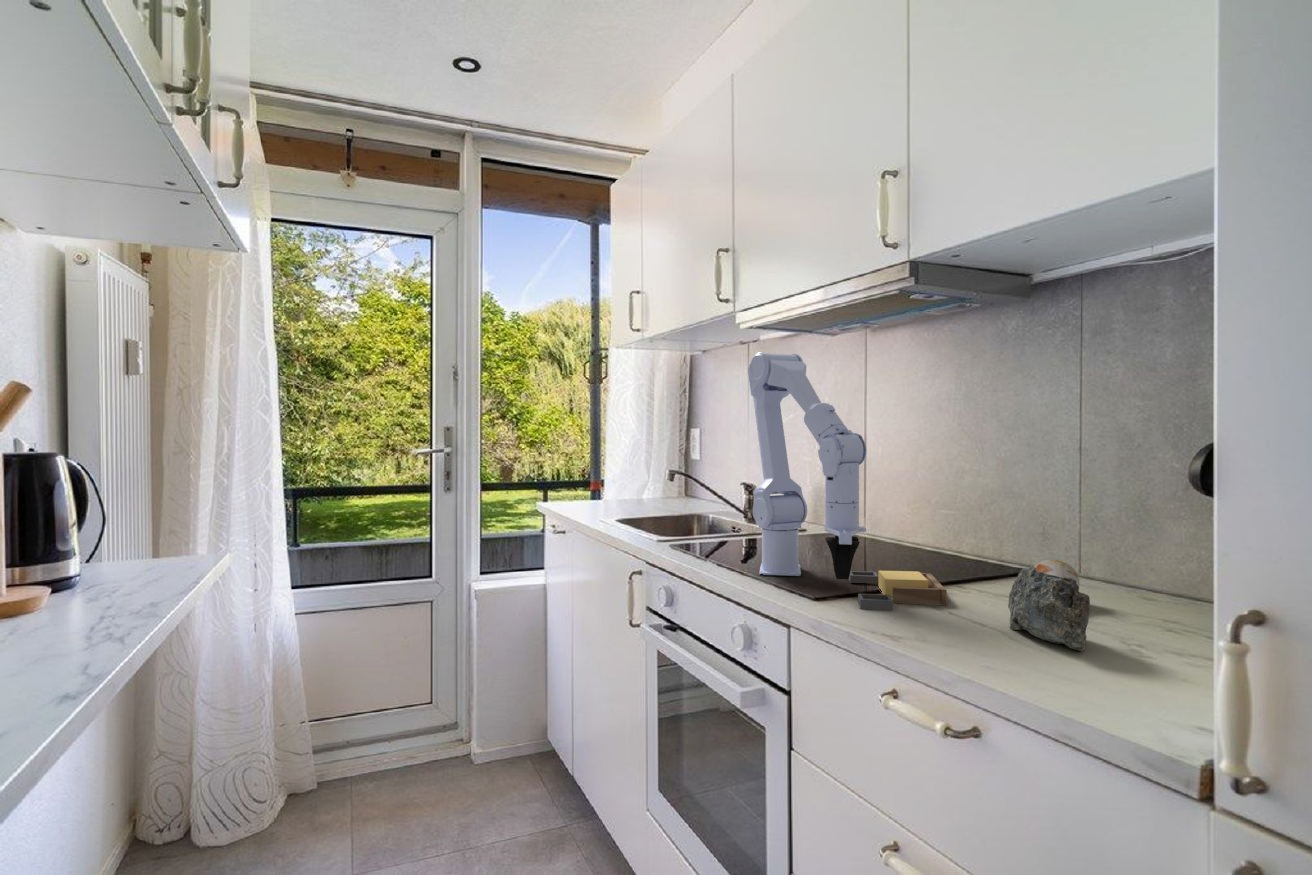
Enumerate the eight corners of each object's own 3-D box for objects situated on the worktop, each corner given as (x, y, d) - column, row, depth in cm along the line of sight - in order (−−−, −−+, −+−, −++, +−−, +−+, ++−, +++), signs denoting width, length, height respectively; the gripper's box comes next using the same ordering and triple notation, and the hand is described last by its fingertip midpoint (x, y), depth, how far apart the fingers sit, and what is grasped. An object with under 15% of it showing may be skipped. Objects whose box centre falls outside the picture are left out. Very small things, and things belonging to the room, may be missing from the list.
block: (878, 589, 125) (878, 570, 125) (918, 590, 124) (918, 571, 124) (885, 599, 118) (885, 579, 118) (928, 600, 117) (928, 580, 117)
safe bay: (882, 585, 127) (883, 571, 127) (930, 586, 125) (930, 573, 125) (893, 603, 114) (893, 588, 114) (946, 605, 113) (946, 590, 113)
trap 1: (848, 578, 132) (848, 570, 132) (875, 579, 131) (875, 571, 131) (850, 583, 128) (850, 575, 128) (878, 584, 128) (878, 576, 128)
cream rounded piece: (1031, 613, 109) (1018, 553, 113) (1043, 628, 115) (1030, 570, 120) (1086, 608, 105) (1070, 546, 109) (1094, 623, 111) (1079, 564, 116)
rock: (973, 630, 99) (973, 561, 99) (1019, 621, 103) (1019, 555, 103) (1069, 660, 86) (1070, 581, 86) (1117, 649, 91) (1117, 573, 90)
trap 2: (858, 602, 115) (857, 593, 115) (889, 603, 114) (889, 594, 114) (860, 608, 111) (860, 599, 111) (893, 610, 110) (893, 600, 110)
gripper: (870, 507, 114) (870, 588, 114) (861, 497, 128) (861, 570, 128) (826, 506, 115) (826, 587, 115) (822, 497, 129) (822, 569, 130)
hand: (842, 578), depth 122 cm, fingers closed
